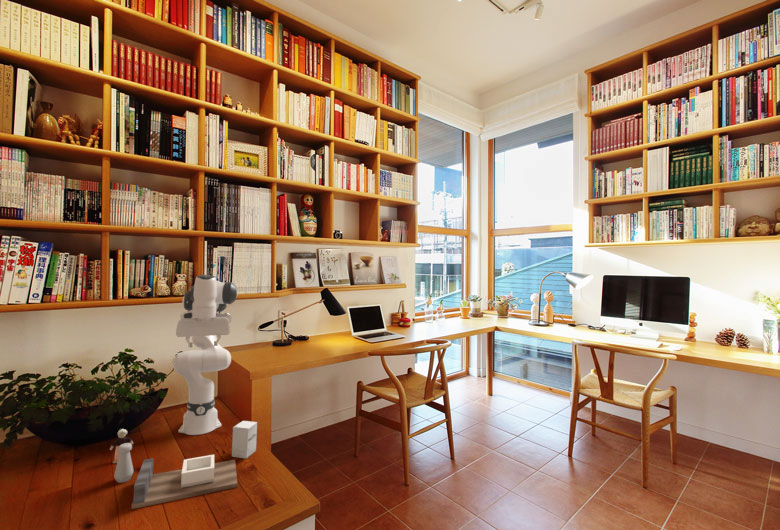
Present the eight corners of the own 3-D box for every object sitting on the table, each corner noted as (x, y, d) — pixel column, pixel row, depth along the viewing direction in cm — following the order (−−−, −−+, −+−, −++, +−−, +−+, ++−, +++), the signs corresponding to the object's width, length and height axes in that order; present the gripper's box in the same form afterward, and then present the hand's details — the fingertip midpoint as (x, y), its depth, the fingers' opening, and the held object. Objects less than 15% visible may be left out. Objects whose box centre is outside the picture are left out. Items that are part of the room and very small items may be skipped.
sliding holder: (183, 473, 138) (183, 459, 138) (213, 467, 143) (214, 454, 143) (181, 487, 129) (181, 473, 129) (213, 481, 133) (214, 467, 133)
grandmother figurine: (111, 465, 145) (112, 433, 145) (108, 462, 147) (109, 430, 148) (133, 458, 151) (135, 427, 151) (130, 455, 153) (131, 424, 154)
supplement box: (246, 459, 153) (248, 428, 153) (231, 456, 154) (232, 426, 155) (256, 450, 160) (257, 421, 160) (241, 448, 162) (242, 420, 162)
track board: (141, 480, 135) (142, 460, 136) (234, 463, 149) (235, 444, 149) (131, 509, 119) (132, 486, 119) (237, 487, 133) (238, 466, 133)
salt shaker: (137, 477, 138) (138, 442, 138) (122, 485, 132) (123, 449, 132) (125, 474, 139) (126, 440, 139) (110, 482, 134) (111, 446, 134)
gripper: (231, 312, 161) (230, 343, 160) (177, 313, 152) (176, 346, 151) (231, 313, 155) (230, 346, 155) (176, 314, 146) (174, 349, 146)
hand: (203, 346), depth 153 cm, fingers open, 8 cm apart
